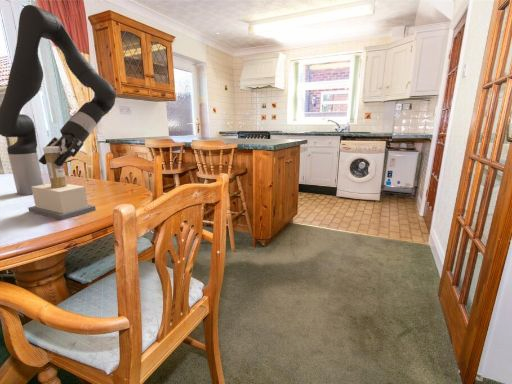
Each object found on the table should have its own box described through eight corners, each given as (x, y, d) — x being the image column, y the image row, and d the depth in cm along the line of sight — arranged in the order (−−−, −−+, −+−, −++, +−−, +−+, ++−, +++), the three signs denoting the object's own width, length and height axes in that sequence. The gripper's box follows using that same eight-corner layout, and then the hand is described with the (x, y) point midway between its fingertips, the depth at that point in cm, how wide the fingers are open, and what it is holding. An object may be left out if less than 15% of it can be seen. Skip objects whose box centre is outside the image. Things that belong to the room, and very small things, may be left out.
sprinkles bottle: (67, 186, 88) (59, 147, 84) (50, 188, 85) (41, 147, 82) (67, 183, 92) (60, 145, 88) (51, 185, 89) (43, 146, 85)
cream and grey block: (29, 211, 89) (23, 187, 87) (63, 203, 99) (59, 181, 97) (62, 220, 82) (57, 193, 80) (95, 210, 91) (92, 186, 89)
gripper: (57, 120, 92) (25, 155, 85) (83, 120, 86) (51, 158, 79) (75, 134, 98) (47, 169, 91) (100, 135, 92) (72, 172, 85)
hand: (49, 163), depth 85 cm, fingers open, 8 cm apart
